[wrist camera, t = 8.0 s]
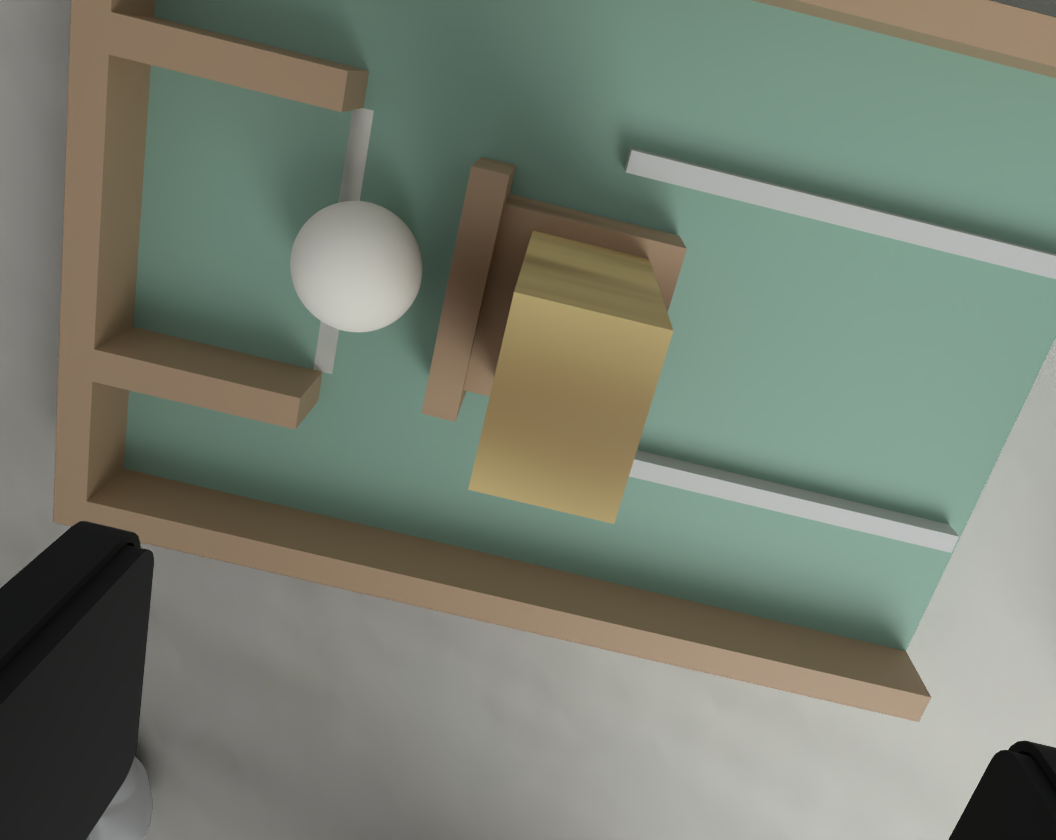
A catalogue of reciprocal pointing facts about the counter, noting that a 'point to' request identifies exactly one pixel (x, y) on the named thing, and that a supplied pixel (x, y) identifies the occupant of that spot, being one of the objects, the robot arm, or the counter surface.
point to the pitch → (601, 189)
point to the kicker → (552, 343)
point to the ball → (356, 266)
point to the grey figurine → (127, 809)
